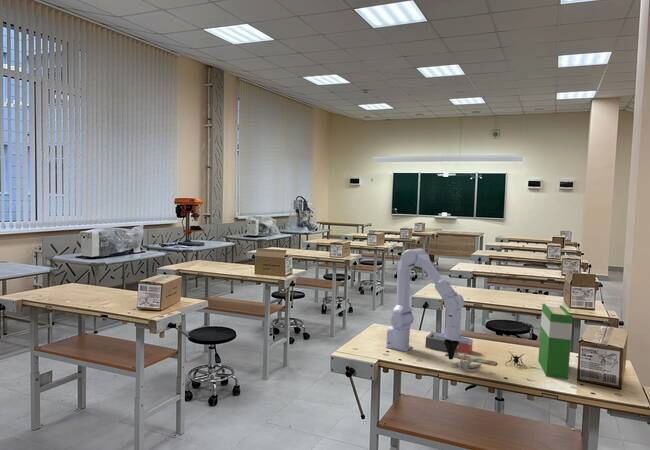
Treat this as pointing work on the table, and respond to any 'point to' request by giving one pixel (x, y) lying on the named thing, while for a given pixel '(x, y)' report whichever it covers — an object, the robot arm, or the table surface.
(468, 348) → the die
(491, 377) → the table surface
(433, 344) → the dome base
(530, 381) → the table surface
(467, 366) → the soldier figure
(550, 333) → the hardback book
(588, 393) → the table surface
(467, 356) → the track
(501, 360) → the table surface
